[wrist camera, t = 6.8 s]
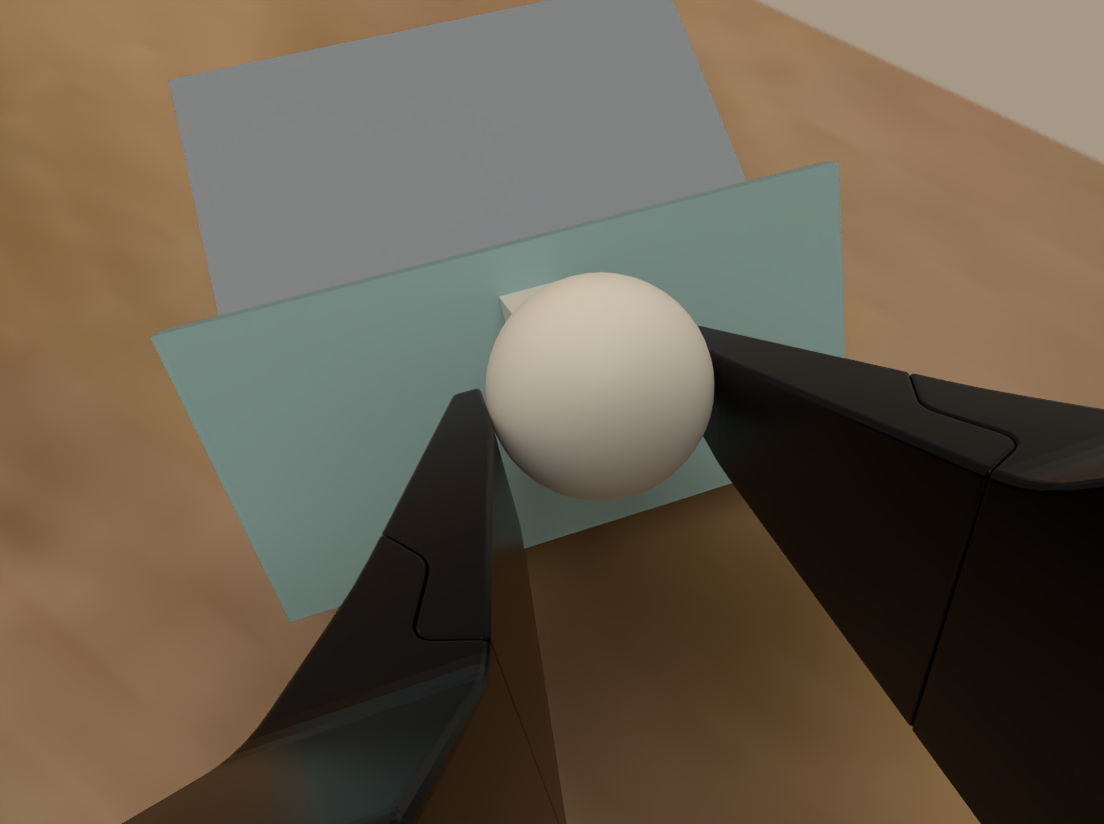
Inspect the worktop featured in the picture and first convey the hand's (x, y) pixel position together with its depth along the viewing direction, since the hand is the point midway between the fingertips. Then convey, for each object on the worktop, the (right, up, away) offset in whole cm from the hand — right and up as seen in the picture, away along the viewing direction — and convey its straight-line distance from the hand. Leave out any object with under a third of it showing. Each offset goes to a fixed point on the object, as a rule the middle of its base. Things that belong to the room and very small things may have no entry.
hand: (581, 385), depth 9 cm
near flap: (-1, 0, +4) cm, 4 cm away
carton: (-2, +3, +12) cm, 12 cm away
